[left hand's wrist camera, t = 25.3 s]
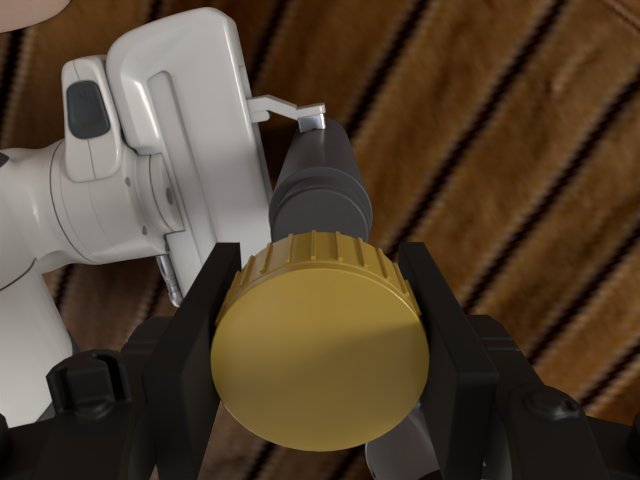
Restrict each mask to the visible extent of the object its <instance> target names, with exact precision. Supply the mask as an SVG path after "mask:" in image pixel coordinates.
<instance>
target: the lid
mask: <svg viewBox="0 0 640 480" xmlns="http://www.w3.org/2000/svg"><path fill="white" fill-rule="evenodd" d="M420 315H422V314H421V311H420V309H419V306H418V304H417V302H416V299H415V297H414V294H413V292H412V289H411V287H410V284H409V282H408V280H405V281H404V279H403V277H402V275H401V272H400V270H399V267H398V265H397V263H396V262H395V263H394V264H393V263H392V262H391V261H390V260H389V259H388V258H387V257H386V256H385V255H384V254H383V252H382V250H381V249H380V248H378V250H377V249H375V248H374V247H373V246H371V245H369V244H367V243H365V242H363V240H362V238H358V239H356V238H353V237H350V236H346V235H342V234H340V232H338V231H336V233H327V232H316V230H312V232H311V233H304V234H297V235H294V236H293V234H289V235H288V237H287V238H284V239H282V240H279V241H277V242H275V243H273V244H272V243H271V242H270V243H268V244H267V247H266V248H264V249H263V250H261V251H260V252H259V253H258V254H256V255H255V256H253V255H251V256H250V257H249V260H248V262H247V264H246V265H245V266H244V268H243V269H242V270H241V272H239V271H237V273H236V275H235V277H234V280H233V282H232V285H231V287H230V289H228V291H227V294H226V296H225V299H224V301H223V304H222V306H221V309H220V311H219V314H218V316H217V318H216V321H215V324H214V325H215V326H217V328H216V330H215V333H214V336H213V339H212V344H211V350H210V362H211V372H212V379H213V382H214V386H215V389H216V391H217V393H218V395H219V397H220V399H221V401H222V402H223V404H224V405H225V407H226V408H227V410H228V411H229V412H230V413H231V414H232V415H233V416H234V418H235V419H236V420H238V421H239V422H240V423H241V424H242V425H243V426H244V427H246V428H247V429H249V430H250V431H252V432H253V433H255V434H256V435H258V436H260V437H262V438H264V439H266V440H268V441H270V442H273V443H275V444H278V445H281V446H285V447H288V448H293V449H298V450H304V451H334V450H342V449H347V448H351V447H356V446H359V445H361V444H364V443H367V442H370V441H372V440H374V439H376V438H378V437H380V436H382V435H383V434H385V433H387V432H388V431H390V430H391V429H393V428H394V427H395V426H396V425H398V424H399V423H400V422H401V421H402V420H403V419H404V418H405V417H406V416H407V415H408V414H409V413H410V412H411V410H412V409H413V408H414V406H415V405H416V404H417V402H418V400H419V398H420V397H421V395H422V393H423V390H424V388H425V385H426V383H427V378H428V369H429V359H430V352H429V344H428V340H427V337H426V331H425V328H424V326H423V323H422V321H421V318H420Z"/></svg>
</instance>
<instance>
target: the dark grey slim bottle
mask: <svg viewBox="0 0 640 480" xmlns="http://www.w3.org/2000/svg"><path fill="white" fill-rule="evenodd" d="M326 118H327V125H328V128H325V129H321V130H316V129H313V130H312V131H309V132H304V133H300V128H299V127H298V128H297V129H296V131H295V133H294V135H293V138H292V141H291V144H290V147H289V149H288V152H287V155H286V158H285V161H284V164H283V167H282V170H281V172H280V175H279V178H278V181H277V184H276V187H275V190H274V193H273V195H272V198H271V201H270V205H269V212H268V218H269V226H270V234H271V243H272V244H273V243H275V242H277V241H279V240H282V239H284V238H287V237H288V235H289V234H293V236H294V235H297V234H304V233H311V232H312V230H316V232H327V233H336V231H338V232H340V234H342V235H346V236H350V237H353V238H356V239H358V238H362V240H363V242H365V243H368V239H369V235H370V229H371V225H372V217H373V213H372V206H371V201H370V199H369V196H368V193H367V190H366V187H365V184H364V182H363V179H362V176H361V173H360V170H359V167H358V165H357V162H356V159H355V156H354V153H353V150H352V148H351V145H350V142H349V139H348V136H347V134H346V132H345V130H344V128H343V127H342V126H341V125H340V124H339V123H338V122H337V121H335V120H333V119H331V118H328V117H326Z"/></svg>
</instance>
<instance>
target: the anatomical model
mask: <svg viewBox="0 0 640 480" xmlns="http://www.w3.org/2000/svg"><path fill="white" fill-rule="evenodd" d="M69 2H70V0H0V33H2V32H7V31H12V30H16V29H20V28H24V27H28V26H31V25H34V24H37V23H40V22H42V21H45V20H47V19H49V18H51V17H53V16H55V15H57V14H58V13H59V12H61V11H62V10H63V9H64V8H65V7H66V6H67V4H68V3H69Z"/></svg>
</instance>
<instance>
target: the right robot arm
mask: <svg viewBox="0 0 640 480" xmlns="http://www.w3.org/2000/svg"><path fill="white" fill-rule="evenodd" d="M61 79H62V94H63V107H64V125H65V138H64V139H61V140H59V141H57V142H55V143H53V144H52V145H50V146H48V147H45V148H42V149H27V148H8V149H2V150H0V413H1V414H2V415H3V416H5V418H6V421H7V424H8V427H9V428H11V427H16V426H20V425H25V424H29V423H34V422H38V421H43V420H46V419H50V418H53V417H54V416H55V410H54V406H53V403H52V399H51V395H50V392H49V388H48V384H47V381H46V377H45V376H46V375H47V374H48V372H49V371H50V370H51V369H52V367H54V366H55V365H57V364H58V363H59V362H61V361H62V360H64V359H66V358H68V357H70V356H73V355H75V354H77V353H80V352H81V351H80V349H79V347H78V346H77V344H76V342H75V340H74V339H73V337H72V335H71V333H70V332H69V331H68V330H67V329H66V328H65V326H64V323H63V321H62V319H61V317H60V314H59V312H58V310H57V308H56V306H55V303H54V301H53V299H52V297H51V295H50V292H49V290H48V288H47V286H46V283H45V281H44V279H43V277H42V275H41V274H44V273H48V272H51V271H54V270H56V269H58V268H60V267H62V266H64V265H67V264H70V263H83V264H91V265H99V264H105V263H112V262H118V261H124V260H130V259H136V258H143V257H149V256H155V259H156V261H157V264H158V267H159V270H160V273H161V275H162V277H163V279H164V281H165V283H166V286H167V289H168V291H167V292H168V296H169V299H170V301H171V303H172V305H173V306H174V307H179V306H180V304H181V303H182V301H183V299H184V298H185V296H186V294H187V292H188V291H189V289H190V287H191V285H192V284H193V282H194V280H195V279H196V277H197V275H198V273H199V272H200V270H201V268H202V266H203V265H204V263H205V261H206V260H207V258H208V256H209V254H210V253H211V251H212V249H213V247H214V246H215V244H216V242H240V249H241V263H242V269H243V268H244V266H245V265H246V264H247V262H248V260H249V257H250V256H251V255H253V256H255V255H256V254H258V253H259V252H260V251H261V250H263V249H264V248H266V247H267V244H268V243H270V242H271V234H270V226H269V218H268V212H269V205H270V201H271V198H272V195H273V190H272V186H271V181H270V176H269V172H268V167H267V163H266V158H265V154H264V149H263V145H262V140H261V136H260V131H259V127H258V122H260V121H266V120H268V119H269V118H270V117H271V116H272V112H275V113H278V114H281V115H283V116H286V117H289V118H292V119H295V120H298V123H299V128H300V133H304V132H309V131H312V130H313V129H316V130H321V129H325V128H328V125H327V118H326V111H325V105H324V103H317V104H312V105H306V106H300V107H297V105H295V104H292V103H290V102H287V101H285V100H282V99H279V98H277V97H274V96H271V95H263V96H258V97H252V95H251V90H250V86H249V81H248V77H247V72H246V68H245V63H244V59H243V54H242V50H241V45H240V41H239V36H238V32H237V27H236V24H235V22H234V21H233V19H231V18H230V17H229V16H227V15H226V14H225V13H223V12H221V11H220V10H218V9H215V8H211V7H204V8H198V9H193V10H189V11H185V12H181V13H177V14H174V15H171V16H168V17H164V18H162V19H159V20H156V21H153V22H150V23H148V24H145V25H143V26H140V27H138V28H135V29H133V30H131V31H129V32H127V33H125V34H124V35H122V36H121V37H119V38H118V39H117V40H116V41H115V42H114V43H113V44H112V46H111V47H110V49H109V51H108V54H107V55H92V56H86V57H81V58H77V59H74V60H72V61H69V62H67V63H66V64H65V65H64V66H63V68H62V75H61Z"/></svg>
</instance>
